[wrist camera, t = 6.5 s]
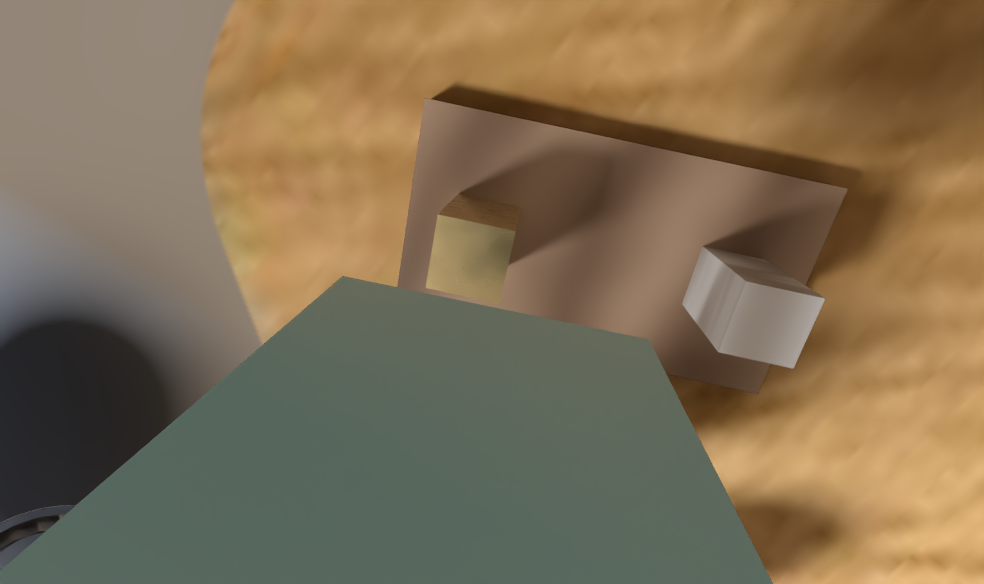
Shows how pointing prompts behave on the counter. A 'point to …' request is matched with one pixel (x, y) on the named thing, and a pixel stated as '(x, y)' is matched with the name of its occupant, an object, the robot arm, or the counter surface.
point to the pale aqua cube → (415, 463)
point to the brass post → (472, 247)
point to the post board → (633, 239)
